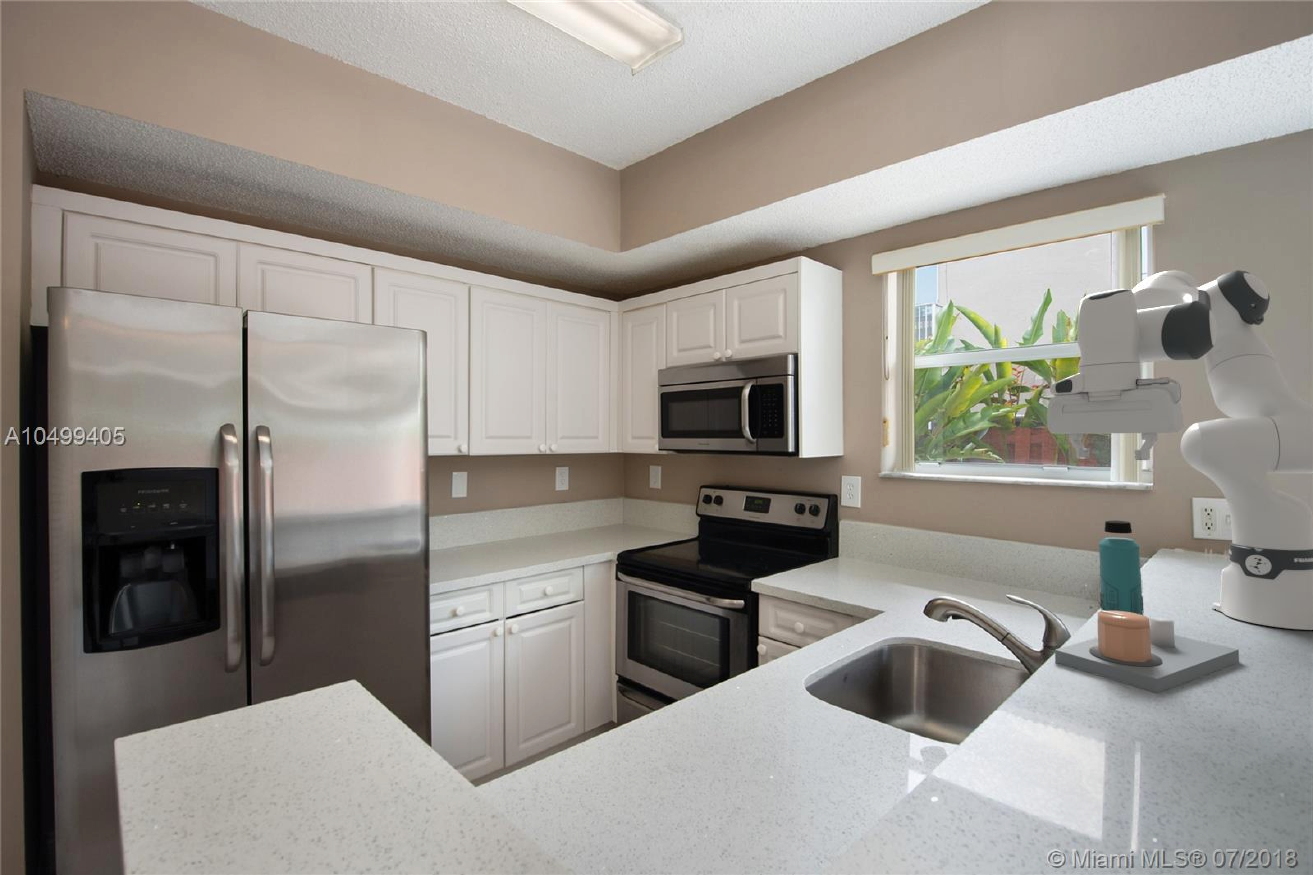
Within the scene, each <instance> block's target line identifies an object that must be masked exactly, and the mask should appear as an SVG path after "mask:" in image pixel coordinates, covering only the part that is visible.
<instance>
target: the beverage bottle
mask: <svg viewBox="0 0 1313 875" xmlns="http://www.w3.org/2000/svg"><path fill="white" fill-rule="evenodd" d="M1132 531H1133V530H1132V525H1131V521H1128V520H1127V521H1126V520H1115V519H1114V520H1105V522H1104V532H1105V533H1111V534H1132V533H1133V532H1132ZM1098 548H1099V576H1100V577H1099V583H1100V592H1099V595H1100V599H1099V600H1100V610H1101V611H1102V610H1103V611H1124V612H1131V613H1136V614H1140V615H1143V616H1144V610H1145V609H1144V596H1143V591H1144V589H1143V588H1144V587H1143V579H1142V573H1141V571H1142V570H1141V558H1140V557H1141V556H1140V555H1141V554H1140V552H1141V551H1140V548H1141V546H1140V544H1139V543H1138V542H1136V541H1135V540H1134V539H1132V538H1127V537H1116V536H1115V537H1112V536H1111V537H1104V538H1103V539H1101V541H1099V543H1098Z"/></svg>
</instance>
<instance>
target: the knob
mask: <svg viewBox="0 0 1313 875" xmlns="http://www.w3.org/2000/svg"><path fill="white" fill-rule="evenodd" d="M1097 638H1098V649H1099V652H1101V653H1102V654H1103V655H1105V656H1106V657H1110V658H1114V659H1118V660H1122V661H1131V662H1145V661H1148V660H1150V659H1151V637H1150V617H1147V616H1145V615H1144V614H1143V615H1140V614H1136V613H1131V612H1124V611H1103V610H1102V609H1101V610H1100V611H1098V612H1097Z"/></svg>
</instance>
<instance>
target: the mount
mask: <svg viewBox="0 0 1313 875" xmlns="http://www.w3.org/2000/svg"><path fill="white" fill-rule="evenodd" d="M1149 620H1150V637H1151V659H1150V660H1148V661H1145V662H1131V661H1122V660H1118V659H1114V658H1110V657H1106V656H1105V655H1103V654H1102V653H1101V652H1099V649H1098V637H1095V638H1092V639H1089V640H1088V639H1087V640H1085V641H1082V642H1077V643H1074V644H1070V645H1067V646H1063V647H1059V648H1056V649H1054V660H1055V663H1058V664H1061V665H1063V666H1067V667H1070V668H1073V669H1077V670H1080V671H1083V672H1087V673H1091V674H1094V675H1097V676H1099V677H1103V678H1107V679H1110V680H1114V681H1115V682H1120V683H1123V684H1126V685H1130V686H1133V687H1136V688H1140V689H1143V690H1147V691H1150V692H1152V693H1156V694H1158V693H1161V692H1163V691H1167V690H1169V689H1173V688H1174V687H1177V686H1180V685H1182V684H1184V683H1188V682H1190V681H1192V680H1193V681H1194V680H1195V679H1198V678H1200V677H1203V676H1207V675H1208V674H1213V673H1214V672H1216V671H1220V670H1222V669H1224V668H1228V667H1230V666H1233V665H1235V664H1239V663H1240V654H1239V653H1240V652H1239V650H1240V649H1239V648H1234V647H1229V646H1225V645H1220V644H1216V643H1211V642H1207V641H1204V640H1203V641H1202V640H1198V639H1194V638H1190V637H1185V636H1181V635H1176V634H1175V621H1174V619H1171V618H1166V617H1161V616H1160V617H1159V616H1153V617H1152V616H1151V617H1149Z"/></svg>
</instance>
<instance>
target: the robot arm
mask: <svg viewBox="0 0 1313 875" xmlns="http://www.w3.org/2000/svg"><path fill="white" fill-rule="evenodd" d="M1270 298H1271V297H1270V294H1269V291H1268V289H1267V287H1266V284H1265V283H1264V282H1263V281H1262V280H1261V279H1260V278H1259V277H1257V276H1256V275H1253V274H1252V273H1250V272H1248V271H1245V270H1239V269H1237V270H1232V271H1230V272H1228V273H1224V274H1222V275H1219V276H1218V277H1216V279H1215V280H1212V281H1210V282H1207V283H1205V284H1203V285H1201V286H1199V285H1198V282H1197V280H1196V279H1195V278H1194V276H1192V274H1190V273H1187V272H1185V271H1182V270H1167V271H1166V270H1165V271H1161V272H1158V273H1155V274H1153V275H1151V276H1148V277H1147V278H1145V279H1143V281H1141V282H1140V283H1138V284H1137V285H1136V286H1135V287H1133V289H1128V288H1120V289H1118V288H1117V289H1112V290H1107V291H1106V290H1105V291H1101V292H1096V293H1091V294H1088V295H1086V296H1084V297H1083V298H1082V299H1081V300H1080V304H1079V310H1078V318H1077V346H1078V348H1079V350H1080V358H1079V361H1078V373H1076V374H1073V375H1070V376H1069V377H1065V378H1063V379H1061V380H1058V381H1055V382H1053V383H1051V384H1050V386H1049V393H1050V394H1051V395H1053V396H1052V397H1051V398H1050V399H1049V401H1048V404H1047V409H1046V410H1047V411H1046V415H1047V416H1046V426H1047V429H1048V431H1049V433H1050V434H1053V435H1057V434H1058V435H1065V434H1067V435H1068V441H1069V443H1070V444H1071V445H1072V447H1073V449H1074V450H1075V457H1076V459H1085V460H1086V459H1090V457H1091V454H1090V451H1091V450H1090V448H1086V447H1085V446H1084V444H1083V443H1082V440H1083V439H1084V435H1087V434H1089V435H1090V434H1091V435H1092V434H1099V435H1100V434H1141V435H1140V436H1141V440H1142V441H1144V442H1143V444H1142V445H1141V447H1140V449H1134V459H1135V460H1136V461H1150V460H1151V449H1152V448H1153V447H1154V445H1155V444H1156V442H1157V441H1158V434H1173V433H1179V431H1181V430H1182V429H1183V427H1184V423H1185V422H1184V416H1183V408H1182V404H1181V401H1180V400H1181V398H1182V387H1181V386H1182V385H1181V384H1180V383H1179V382H1178V381H1176V380H1175V379H1171V377H1169V376H1168V377H1159V378H1141V377H1142V375H1141V373H1142V372H1141V363H1153V362H1163V361H1166V362H1167V361H1173V360H1174V361H1192V360H1193V361H1195V360H1196V361H1197V360H1199V359H1201V358H1202V357H1203V356H1204V368H1205V374H1206V376H1207V377H1206V379H1207V382H1208V385H1209V388H1210V392H1211V394H1212V397H1213V401H1214V405H1215V407H1217V408H1218V410H1219V411H1220V412H1221V413H1222V414H1224V415H1226V416H1227V418H1225V417H1223V418H1222V417H1221V418H1217V419H1210V420H1205V421H1199V422H1195V423H1193V424H1192V425H1190V426H1188V428H1187V429H1186V430H1185V432H1184V433H1183V435H1182V437H1181V441H1180V452H1181V455H1182V457H1183V459H1184V460H1185V462H1186V463H1187V464H1188V465H1189V466H1190V467H1191V468H1192V469H1194V470H1196V471H1198V472H1199V473H1201V474H1203V475H1205V476H1206V477H1207V478H1209V480H1211V481H1212V482H1213V483H1214V484H1215V485H1216V486H1217V487H1218V489H1220V491H1221V492H1222V494H1223V497H1224V499H1225V501H1226V503H1227V506H1228V509H1229V510H1228V511H1229V516H1230V525H1231V542H1230V543H1229V549H1228V554H1229V561H1230V564H1229V565H1228V566H1226V567H1225V568H1223V569H1222V570H1221V574H1220V575H1221V577H1220V578H1221V579H1220V592H1219V593H1220V594H1219V597H1220V598H1219V601H1218V602H1212V603H1211V609H1213V610H1215V609H1216V610H1215V611H1219V612H1222V614H1224V615H1225V616H1228V617H1229V618H1233V619H1236V620H1239V621H1243V622H1247V623H1250V624H1251V623H1252V624H1257V625H1263V626H1268V627H1272V628H1273V627H1275V628H1283V629H1292V630H1304V631H1305V630H1307V631H1308V630H1310V631H1312V630H1313V511H1312V510H1311V507H1310V506H1309V504H1307V503H1306V502H1305V501H1304V500H1303V499H1300V498H1298V497H1296V496H1294V495H1291V494H1289V493H1286V492H1284V491H1282V490H1278V489H1275V488H1274V487H1273V486H1272V485H1271V484H1270V482H1269V479H1268V477H1269V476H1268V475H1271V474H1276V475H1277V474H1280V475H1281V474H1288V475H1289V474H1291V475H1292V474H1297V475H1298V474H1303V475H1304V474H1308V475H1311V474H1313V404H1311V403H1309V402H1307V400H1305V399H1303V398H1301V397H1300V396H1299V395H1297V393H1295V391H1293V390H1292V389H1291V387H1290V385H1289V384H1288V382H1287V380H1286V378H1285V376H1284V374H1283V372H1282V369H1281V367H1280V364H1279V362H1278V361H1277V358H1276V356H1275V355H1274V353H1273V351H1272V349H1271V347H1270V346H1269V345H1268V344H1267V342H1266V341H1265V340H1264V338H1263V337H1262V336H1260V334H1258V333H1257V332H1256V331H1255V330H1254V328H1253V325H1256V326H1259V325H1262V324H1263V323H1264V320H1265V318H1264V315H1265V313H1267V311H1268V309H1269V305H1270Z"/></svg>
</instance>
